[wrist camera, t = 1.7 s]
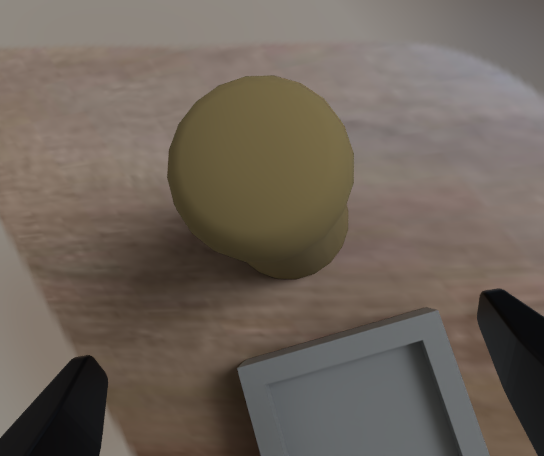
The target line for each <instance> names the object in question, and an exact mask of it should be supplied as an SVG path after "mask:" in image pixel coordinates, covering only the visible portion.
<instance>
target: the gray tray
mask: <svg viewBox="0 0 544 456" xmlns="http://www.w3.org/2000/svg"><path fill="white" fill-rule="evenodd" d="M237 370H238V374H239V378H240V381H241V385H242V389H243V392H244V396H245V400H246V403H247V407H248V411H249V414H250V418H251V422H252V425H253V429H254V433H255V436H256V440H257V444H258V447H259V451H260V455H261V456H490V455H489V452H488V449H487V447H486V444H485V441H484V438H483V435H482V433H481V430H480V427H479V424H478V421H477V419H476V416H475V413H474V410H473V407H472V404H471V402H470V399H469V396H468V393H467V390H466V388H465V385H464V382H463V379H462V376H461V374H460V371H459V368H458V365H457V362H456V359H455V357H454V354H453V351H452V348H451V345H450V343H449V340H448V337H447V334H446V331H445V329H444V326H443V323H442V320H441V317H440V314H439V312H438V310H435V309H431V308H427V307H426V308H422V309H419V310H415V311H412V312H408V313H405V314H402V315H398V316H395V317H391V318H388V319H384V320H381V321H377V322H374V323H371V324H367V325H364V326H360V327H357V328H353V329H350V330H346V331H343V332H340V333H336V334H333V335H329V336H326V337H322V338H319V339H315V340H312V341H309V342H305V343H302V344H298V345H295V346H291V347H288V348H285V349H281V350H278V351H274V352H271V353H267V354H264V355H260V356H257V357H254V358H250V359H247V360H245V361H244V362H243V363H242V364H241V365H240V366H239V367H238V368H237Z"/></svg>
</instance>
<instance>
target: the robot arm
mask: <svg viewBox="0 0 544 456" xmlns="http://www.w3.org/2000/svg"><path fill="white" fill-rule="evenodd" d="M477 320H478V324H479V327H480V330H481V333H482V335H483V338H484V340H485V343H486V345H487V348H488V351H489V353H490V356H491V358H492V361H493V364H494V366H495V369H496V371H497V374H498V376H499V379H500V381H501V384H502V386H503V389H504V391H505V393H506V395H507V397H508V399H509V401H510V403H511V405H512V407H513V409H514V411H515V413H516V415H517V417H518V419H519V420H520V422H521V424H522V426H523V428H524V430H525V432H526V434H527V436H528V438H529V440H530V442H531V443H532V445H533V447H534V449H535V451H536V453H537V455H538V456H544V317H543V316H542V315H540V314H539V313H537V312H536V311H535V310H533V309H532V308H530V307H529V306H527V305H526V304H524V303H523V302H521V301H520V300H518V299H517V298H515V297H514V296H512V295H511V294H509V293H508V292H506V291H505V290H503V289H492V290H486V291H482V292H481V294H480V298H479V305H478V312H477ZM107 388H108V378H107V375H106V373H105V371H104V370H103V369H102V368H101V366H100V365H99V364H98V362H97V361H96V360H95V359H94V357H92V356H90V355H86V356H80V357H75V358H73V359H72V360H71V361H69V363H68V364H67V365H66V366H65V367H64V368H63V369H62V370H61V371H60V372H59V374H58V375H57V376H56V377H55V378H54V379H53V380H52V382H50V384H49V385H48V386H47V387H46V388H45V389H44V390H43V391H42V392H41V394H40V395H39V396H38V397H37V398H36V399H35V400H34V401H33V403H31V405H30V406H29V407H28V408H27V409H26V410H25V411H24V412H23V413H22V415H21V416H20V417H19V418H18V419H17V420H16V421H15V422H14V423H13V425H12V426H11V427H10V428H9V429H8V430H7V431H6V432H5V433H4V434H3V436H2V437H1V438H0V456H99V454H100V449H101V442H102V435H103V425H104V416H105V407H106V398H107Z"/></svg>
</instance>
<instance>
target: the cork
mask: <svg viewBox="0 0 544 456" xmlns="http://www.w3.org/2000/svg"><path fill="white" fill-rule="evenodd" d="M167 178H168V182H169V186H170V190H171V194H172V198H173V202H174V205H175V207H176V209H177V211H178V212H179V214H180V215H181V217H182V219H183V220H184V222H185V223H186V225H187V226H188V228H189V229H190V231H191V232H192V234H194V235H195V236H196V237H197V238H199V239H200V240H201V241H202V242H204V243H205V244H206V245H207V246H209V247H210V248H211V249H213V250H214V251H216V252H219V253H221V254H224V255H227V256H230V257H232V258H235V259H238V260H241V261H245V262H247V263H248V264H249V265H251V266H252V267H253V268H254V269H256V270H257V271H258V272H260V273H263V274H265V275H268V276H271V277H274V278H277V279H298V278H302V277H305V276H308V275H312V274H315V273H316V272H318V271H319V270H321V269H322V268H323V267H325V266H326V265H328V264H329V263H331V261H332V260H333V259H334V257H335V256H336V255H337V253H338V252H339V251H340V249H341V248H342V246H343V243H344V240H345V237H346V234H347V231H348V208H347V205H346V204H347V201H348V198H349V195H350V192H351V189H352V186H353V183H354V153H353V150H352V147H351V144H350V141H349V138H348V135H347V132H346V129H345V126H344V125H343V123H342V122H341V120H340V119H339V118H338V116H337V115H336V114H335V112H334V111H333V110H332V109H331V107H330V106H329V105H328V103H327V102H326V101H325V99H324V98H322V97H321V96H319V95H318V94H316V93H315V92H313V91H312V90H310V89H309V88H307V87H306V86H304V85H303V84H301V83H298V82H295V81H291V80H288V79H284V78H281V77H277V76H245V77H242V78H240V79H237V80H234V81H231V82H228V83H225V84H222V85H219V86H218V87H216V88H215V89H213V90H212V91H211V92H209V93H208V94H206V95H205V96H204V97H202V98H201V99H199V100H198V101H197V102H196V103H195V104H194V105H193V106H192V108H191V109H190V110H189V112H188V113H187V114H186V115H185V117H184V118H183V119H182V121H181V122H180V123H179V125H178V128H177V130H176V133H175V135H174V138H173V141H172V143H171V146H170V148H169V157H168V174H167Z"/></svg>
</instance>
